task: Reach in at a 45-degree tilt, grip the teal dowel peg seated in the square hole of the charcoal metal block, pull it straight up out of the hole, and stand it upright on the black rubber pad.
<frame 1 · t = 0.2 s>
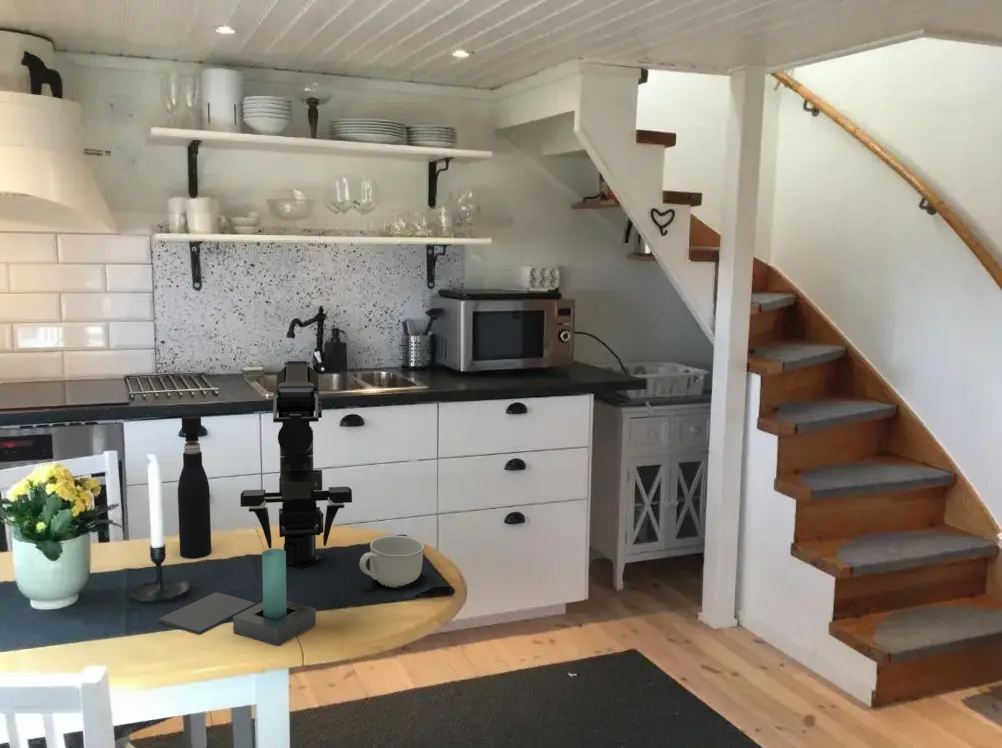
hand: (297, 546, 158), 15 cm above the table, tool tilted 15°, fingers open, 9 cm apart
socket block: (275, 628, 161), on the table
rubber pad: (208, 613, 167), on the table
black bottle: (195, 554, 197), on the table
teal peg: (274, 590, 160), in the socket block
teacup: (389, 584, 183), on the table
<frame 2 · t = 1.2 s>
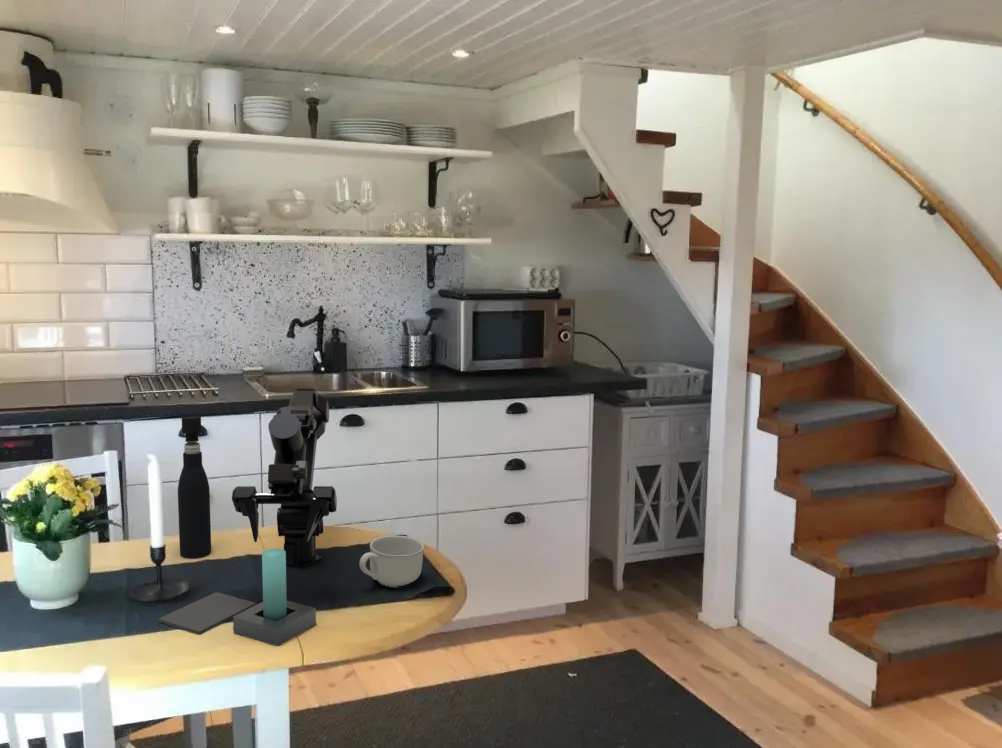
hand: (280, 541, 167), 13 cm above the table, tool tilted 45°, fingers open, 9 cm apart
nothing on the table moved.
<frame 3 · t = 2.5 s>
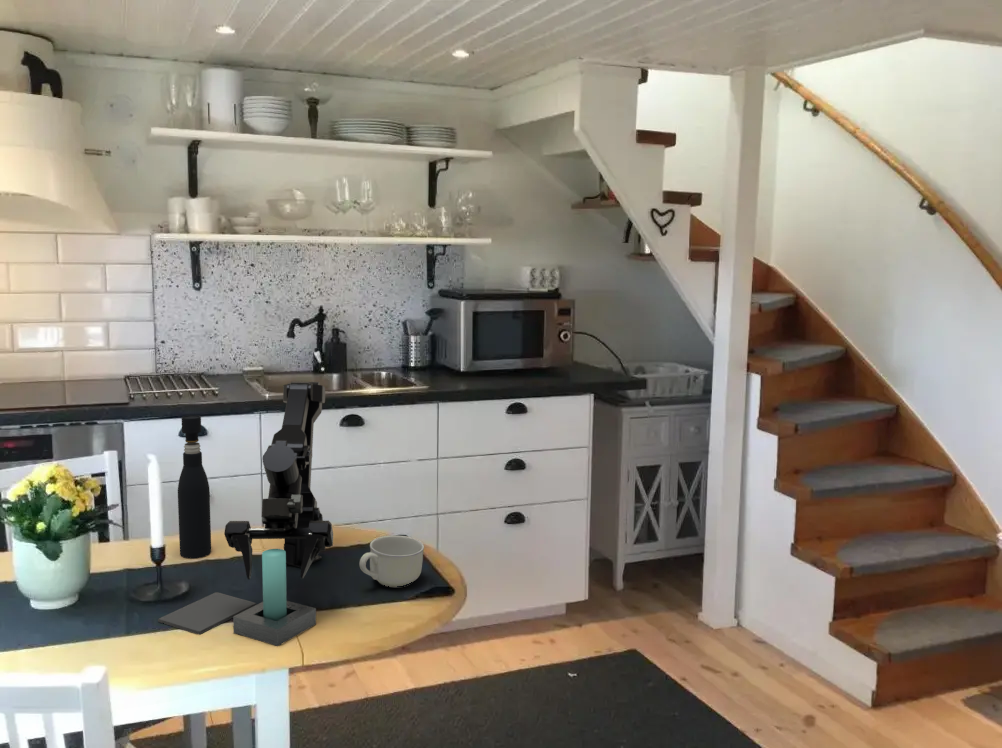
hand: (275, 578, 161), 9 cm above the table, tool tilted 45°, fingers open, 9 cm apart
nothing on the table moved.
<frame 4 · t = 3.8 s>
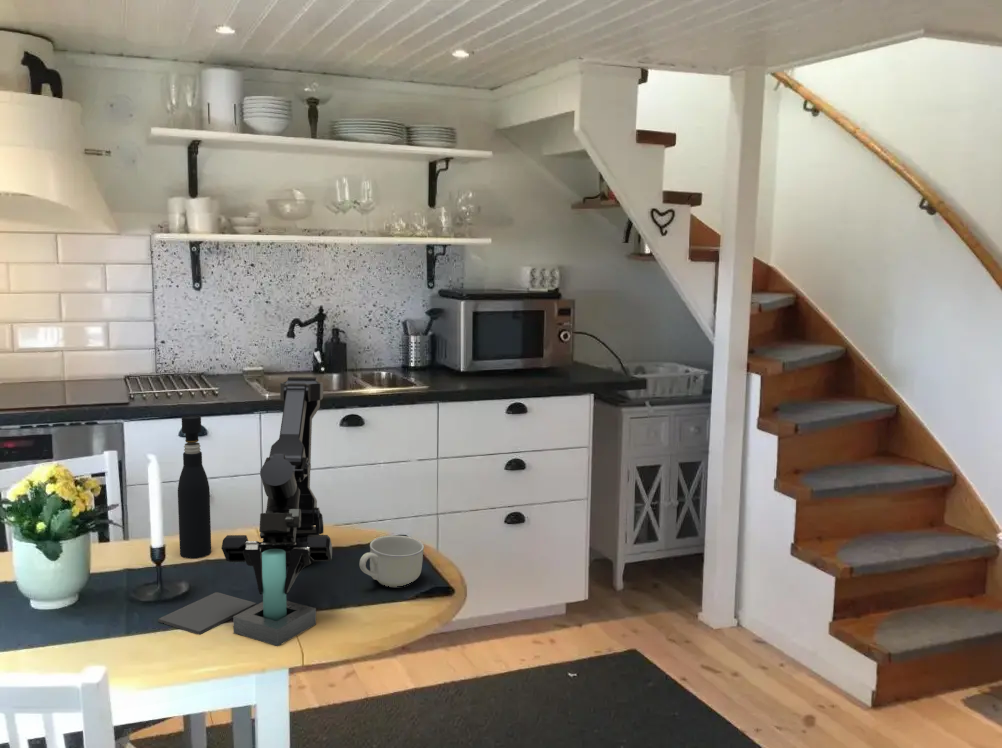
hand: (273, 593, 159), 7 cm above the table, tool tilted 45°, fingers closed on teal peg, 4 cm apart
teal peg: (274, 590, 160), in the socket block, touching gripper
everything else where it was.
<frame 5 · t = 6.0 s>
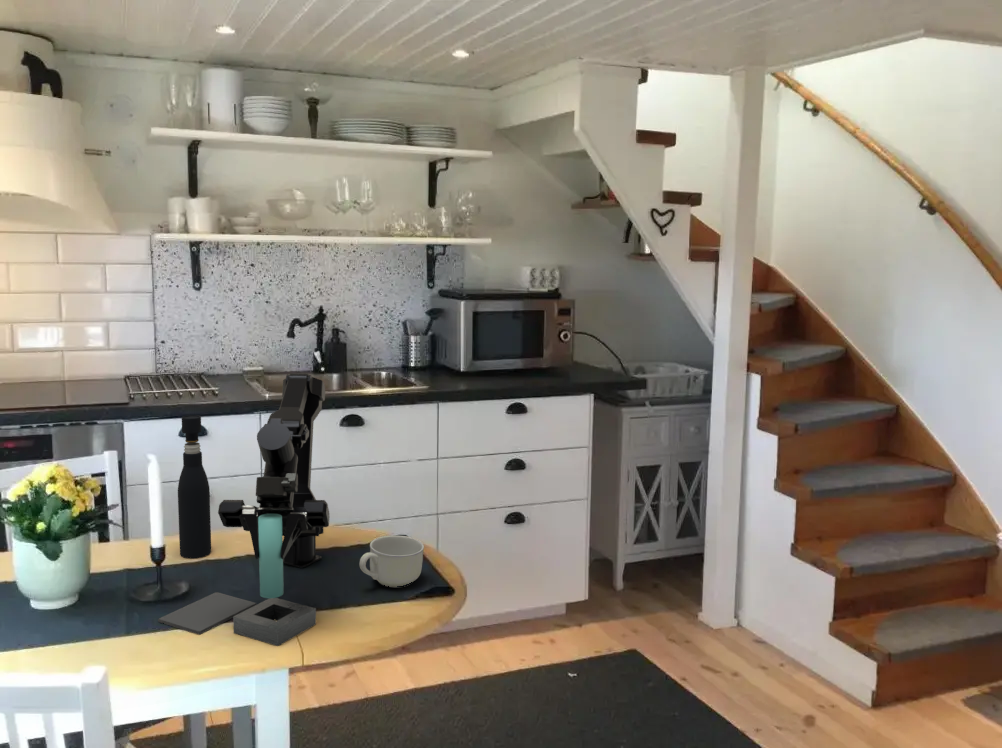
hand: (269, 558, 158), 13 cm above the table, tool tilted 45°, fingers closed on teal peg, 4 cm apart
teal peg: (271, 555, 159), point 13 cm above the table, touching gripper
everything else where it was.
when the fingers open (9 cm above the table, at t = 8.3 s): teal peg drops 1 cm, resting on rubber pad.
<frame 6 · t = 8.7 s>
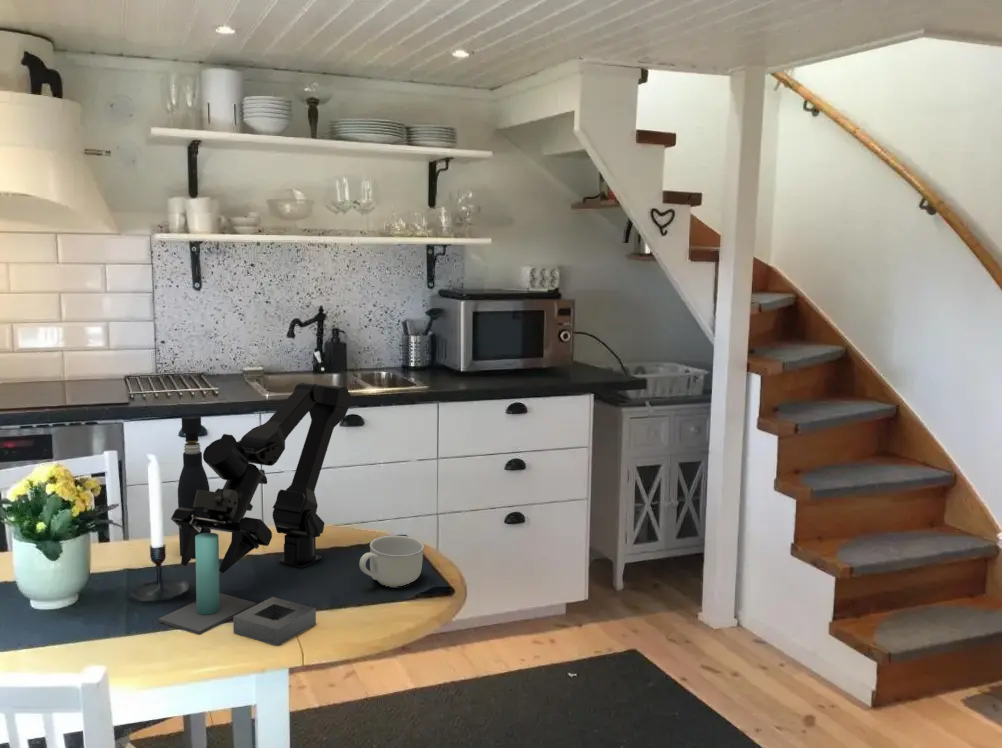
hand: (201, 568, 164), 9 cm above the table, tool tilted 45°, fingers open, 8 cm apart
teal peg: (207, 573, 166), on the rubber pad, point 8 cm above the table
everything else where it was.
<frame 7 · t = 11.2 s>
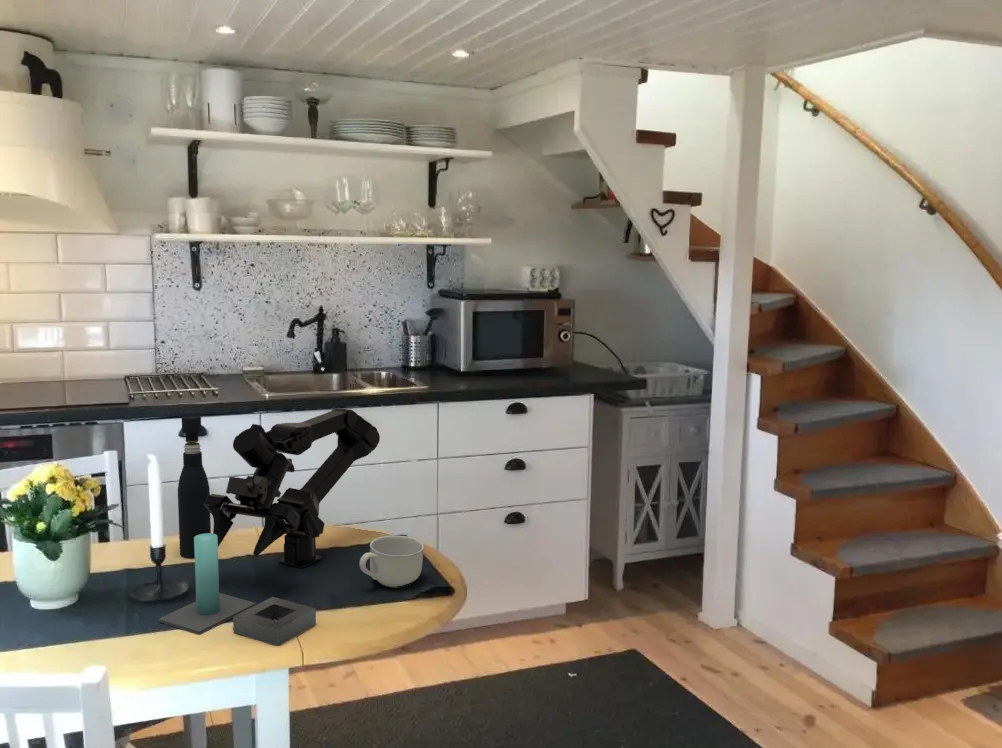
hand: (234, 551, 173), 9 cm above the table, tool tilted 45°, fingers open, 9 cm apart
nothing on the table moved.
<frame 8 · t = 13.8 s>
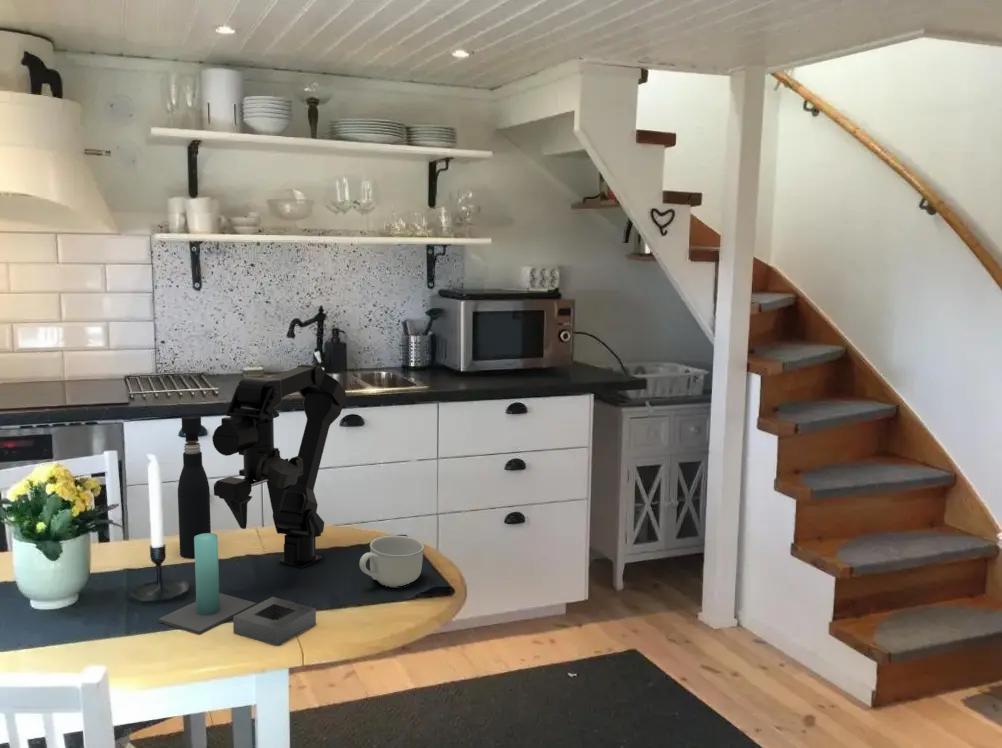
hand: (260, 521, 178), 13 cm above the table, tool pointing down, fingers open, 9 cm apart
nothing on the table moved.
at the end: teal peg inside the target area on the rubber pad (0.0 cm from its centre), point 7.6 cm above the rubber pad's base; teal peg tilted 1°; teal peg touching rubber pad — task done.
